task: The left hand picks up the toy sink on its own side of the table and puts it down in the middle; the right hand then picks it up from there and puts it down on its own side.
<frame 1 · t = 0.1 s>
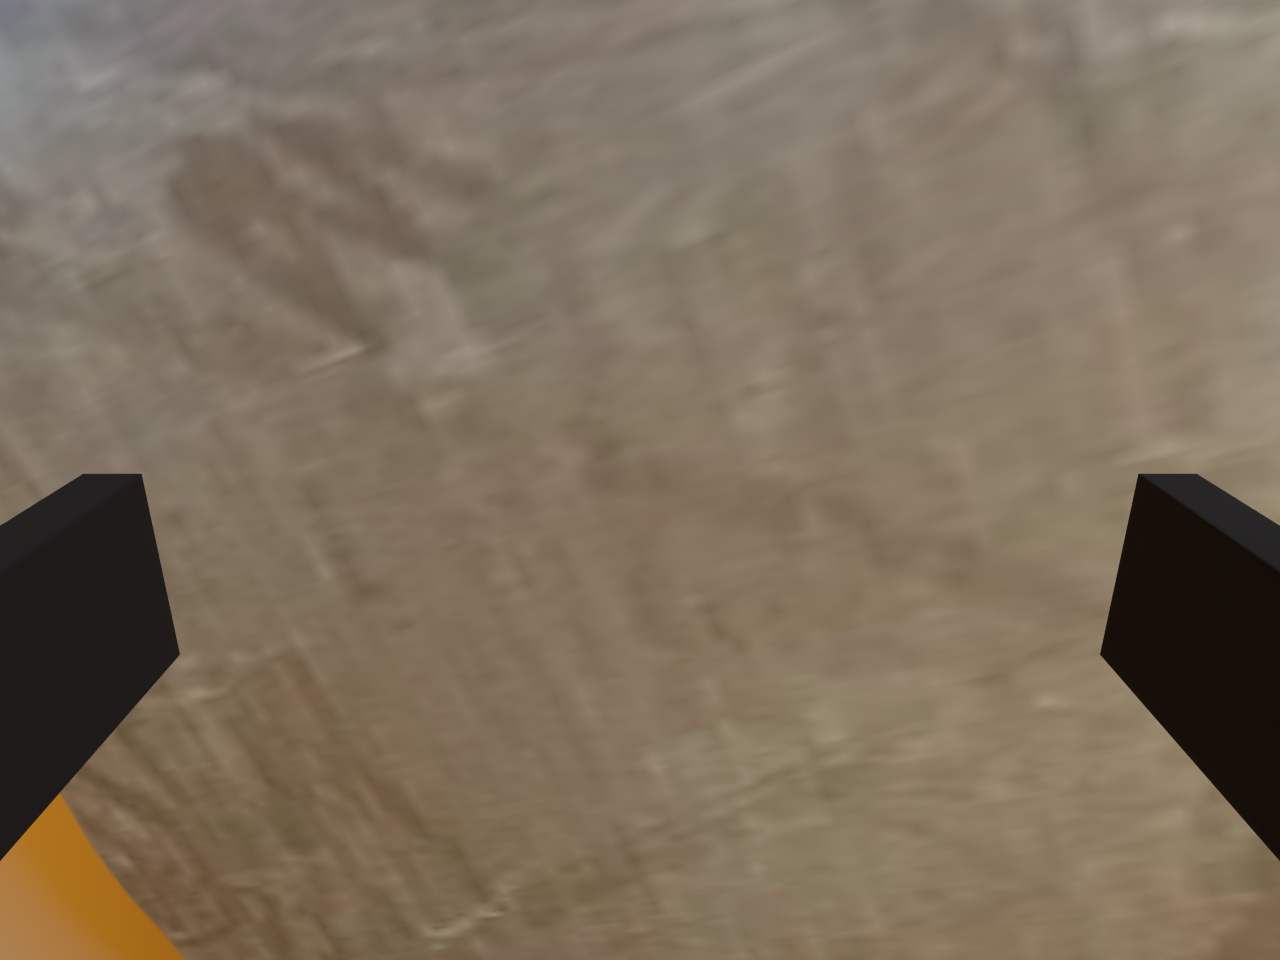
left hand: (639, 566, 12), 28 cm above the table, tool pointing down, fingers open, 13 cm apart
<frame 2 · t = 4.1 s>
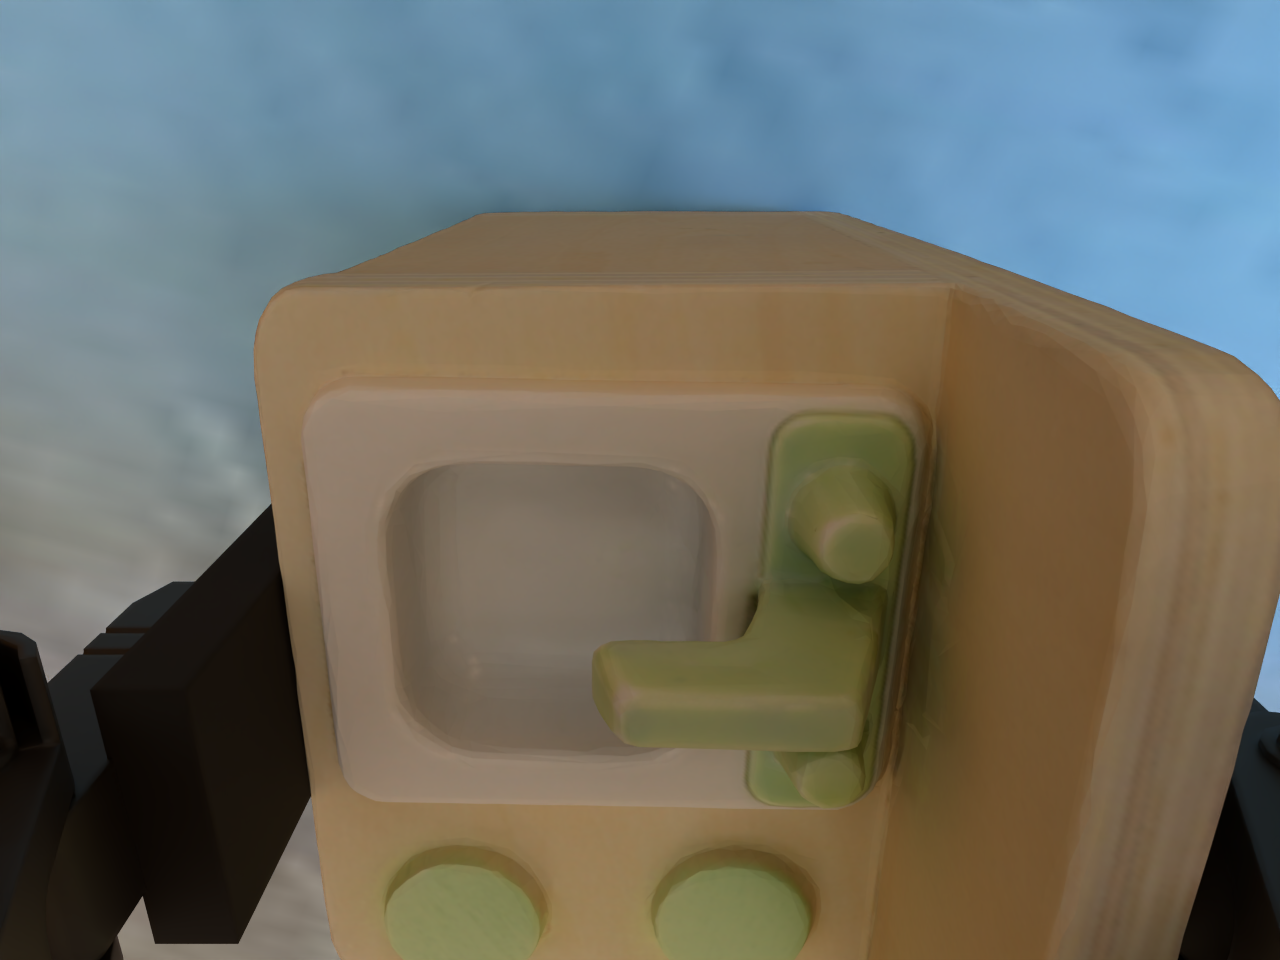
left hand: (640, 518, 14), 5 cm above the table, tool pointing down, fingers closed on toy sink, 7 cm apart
toy sink: (640, 420, 18), on the table, touching left hand
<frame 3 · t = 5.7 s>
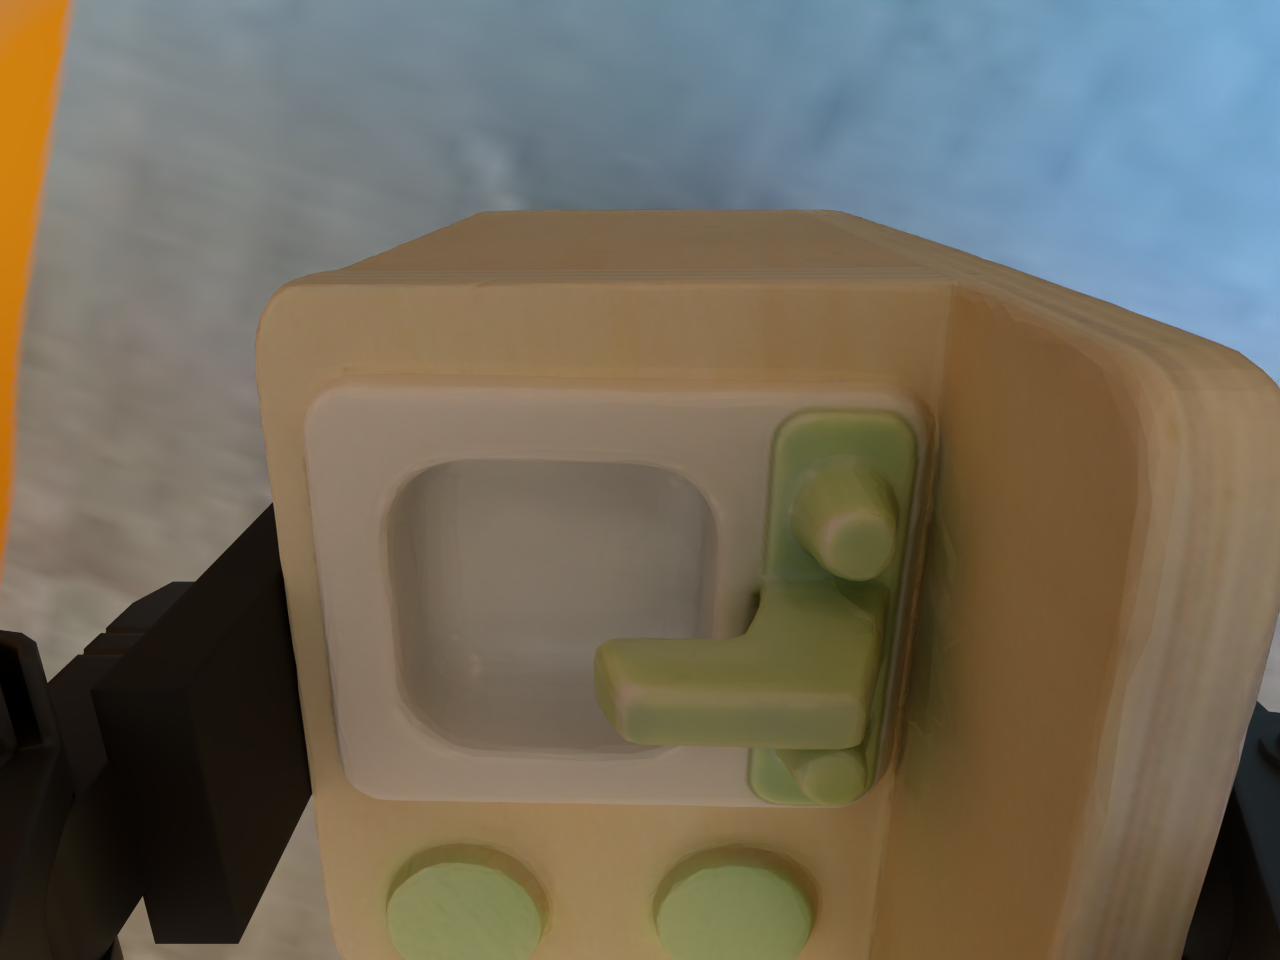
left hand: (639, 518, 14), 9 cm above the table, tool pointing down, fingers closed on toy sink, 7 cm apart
toy sink: (641, 419, 18), point 5 cm above the table, touching left hand
when the left hand's fingers open (7 cm above the table, at t = 7.2 s): toy sink drops 2 cm, on the table.
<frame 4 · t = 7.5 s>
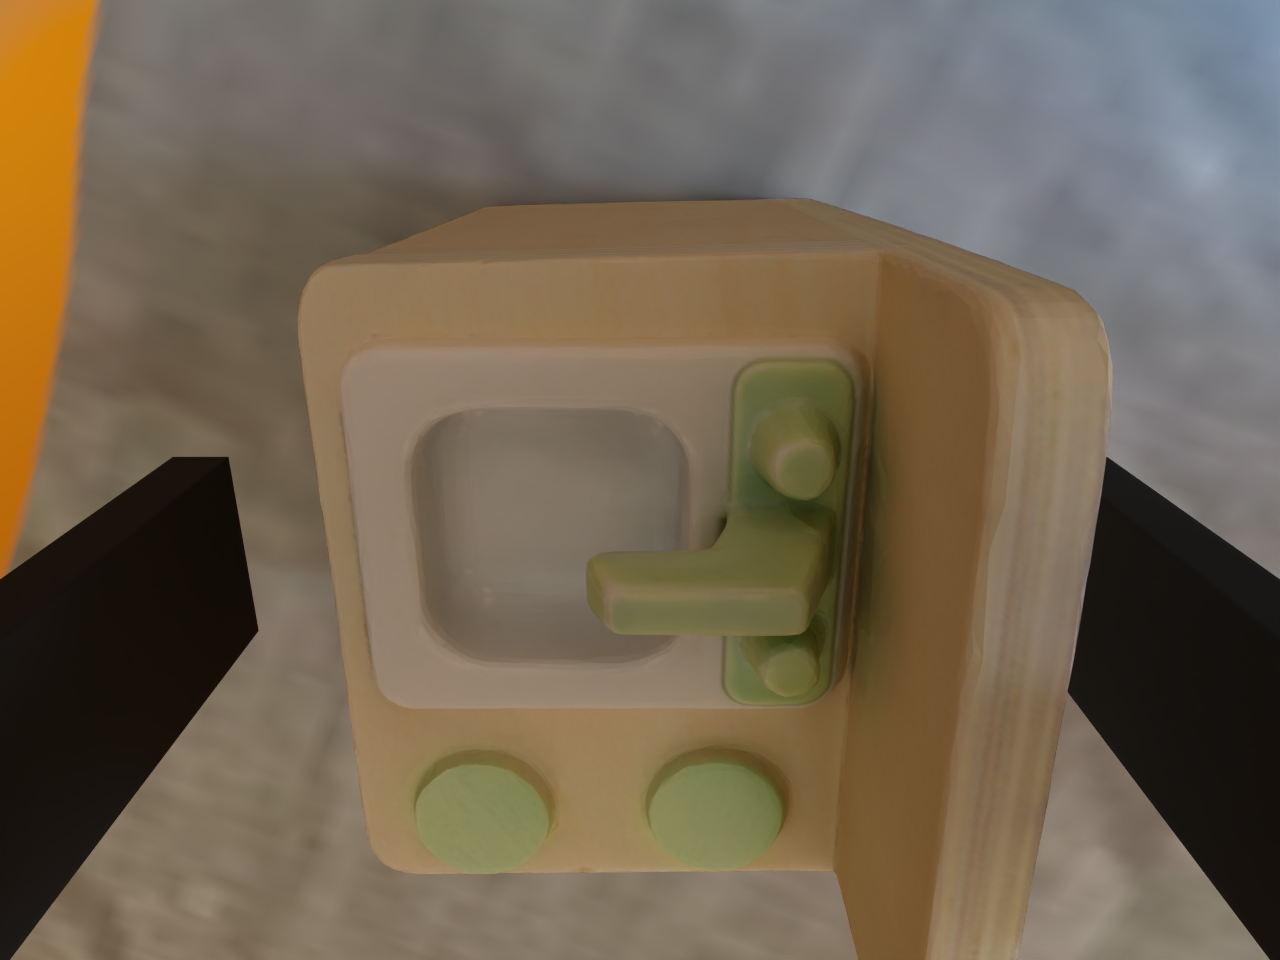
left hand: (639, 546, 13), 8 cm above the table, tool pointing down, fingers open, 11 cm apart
toy sink: (634, 395, 20), on the table
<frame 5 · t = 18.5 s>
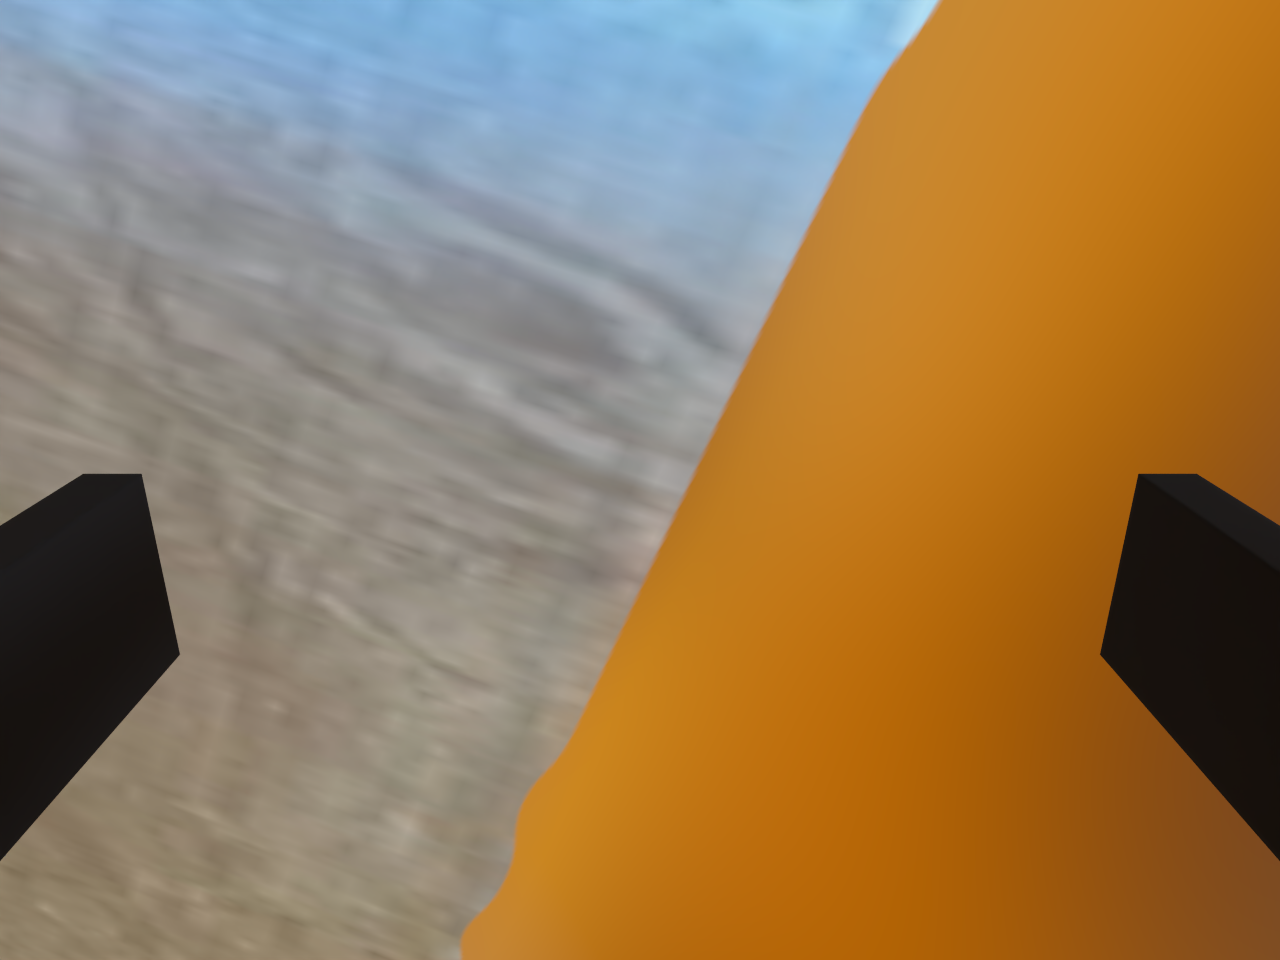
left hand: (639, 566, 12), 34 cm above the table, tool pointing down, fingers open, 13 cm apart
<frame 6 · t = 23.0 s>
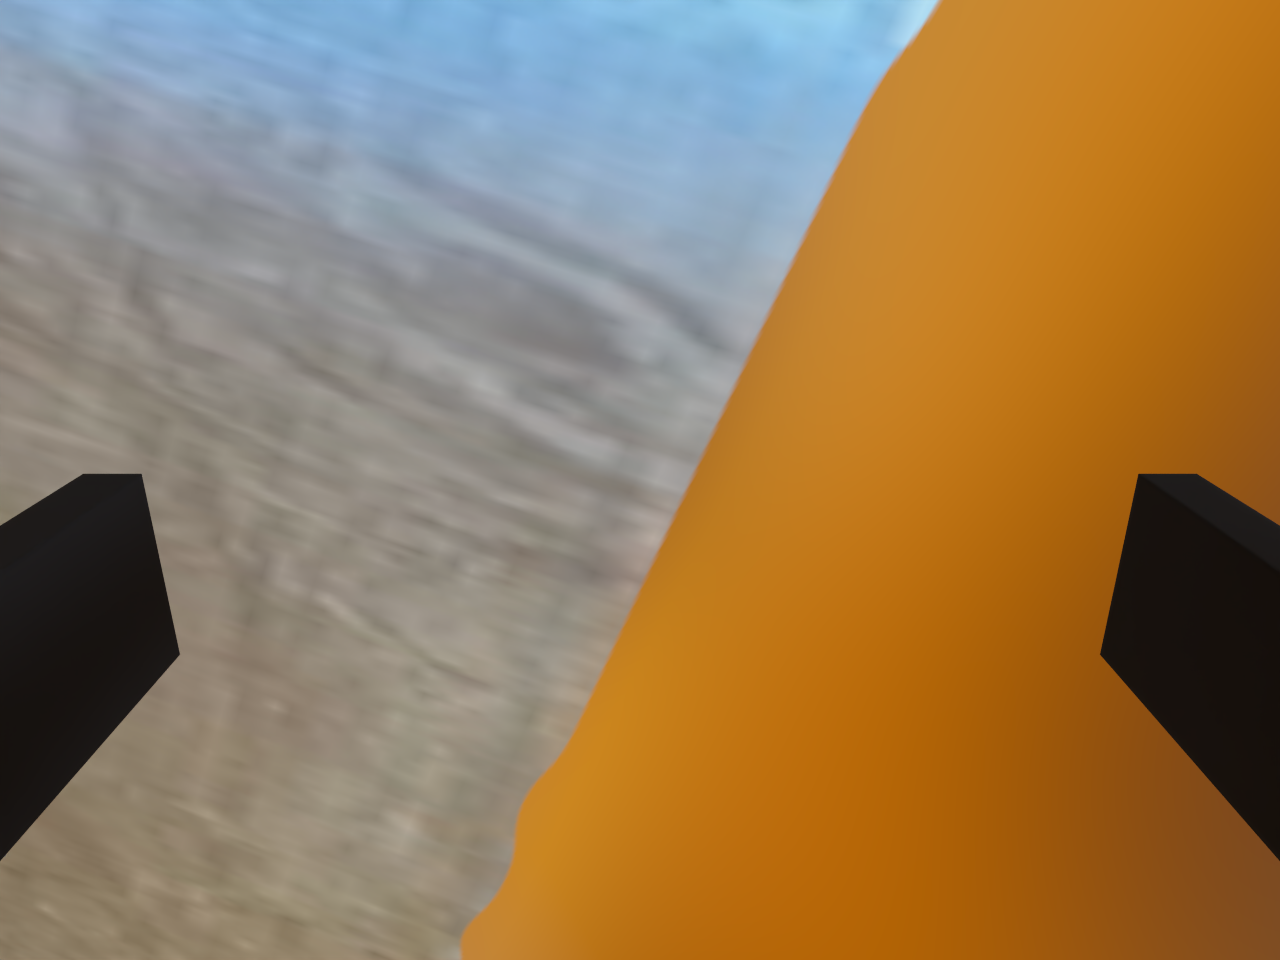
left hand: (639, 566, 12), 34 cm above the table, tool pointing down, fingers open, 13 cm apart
when the right hand's fingers open (7 cm above the table, at t = 27.7 s): toy sink drops 2 cm, on the table.
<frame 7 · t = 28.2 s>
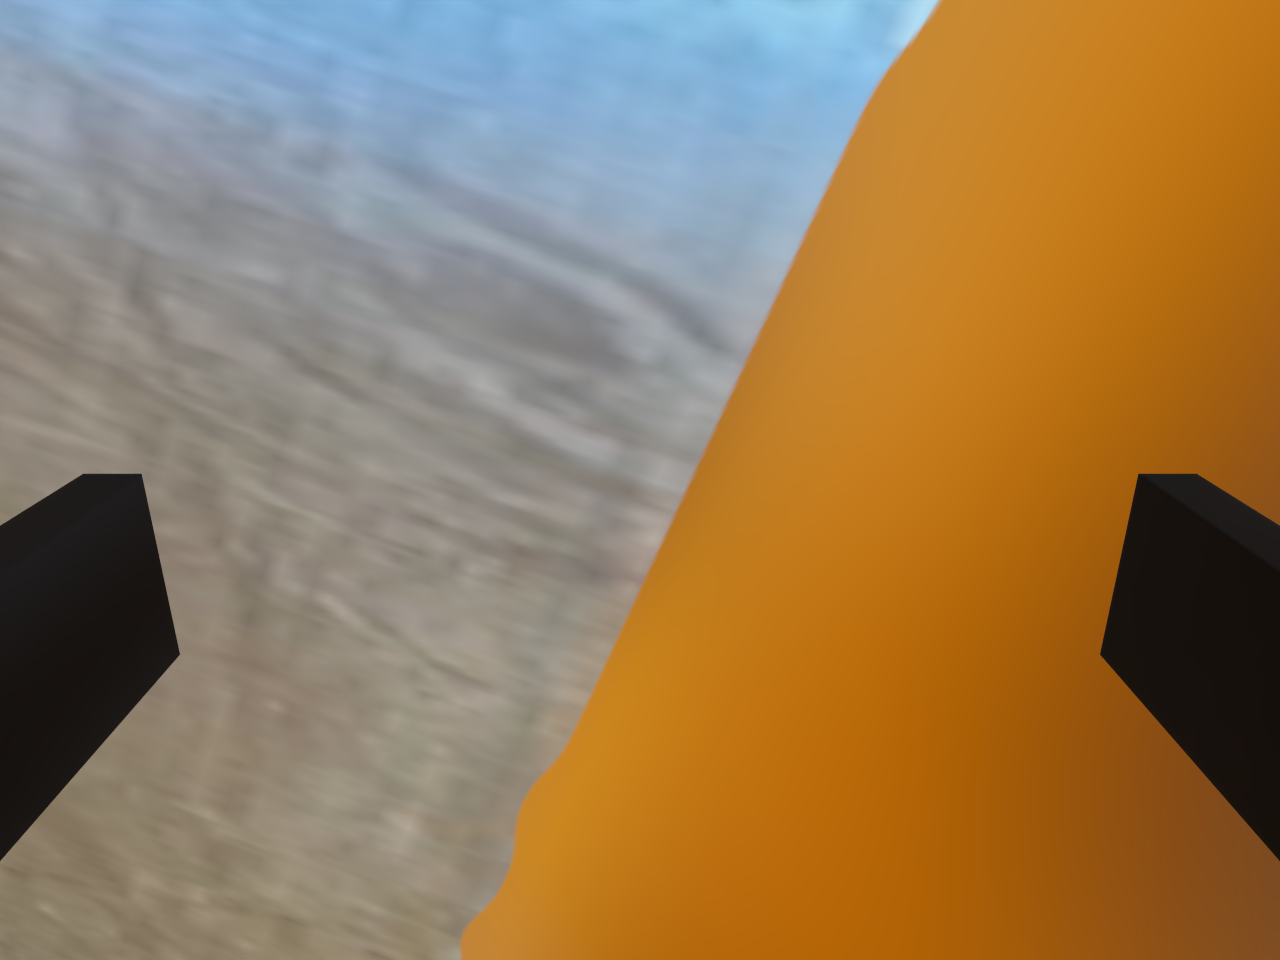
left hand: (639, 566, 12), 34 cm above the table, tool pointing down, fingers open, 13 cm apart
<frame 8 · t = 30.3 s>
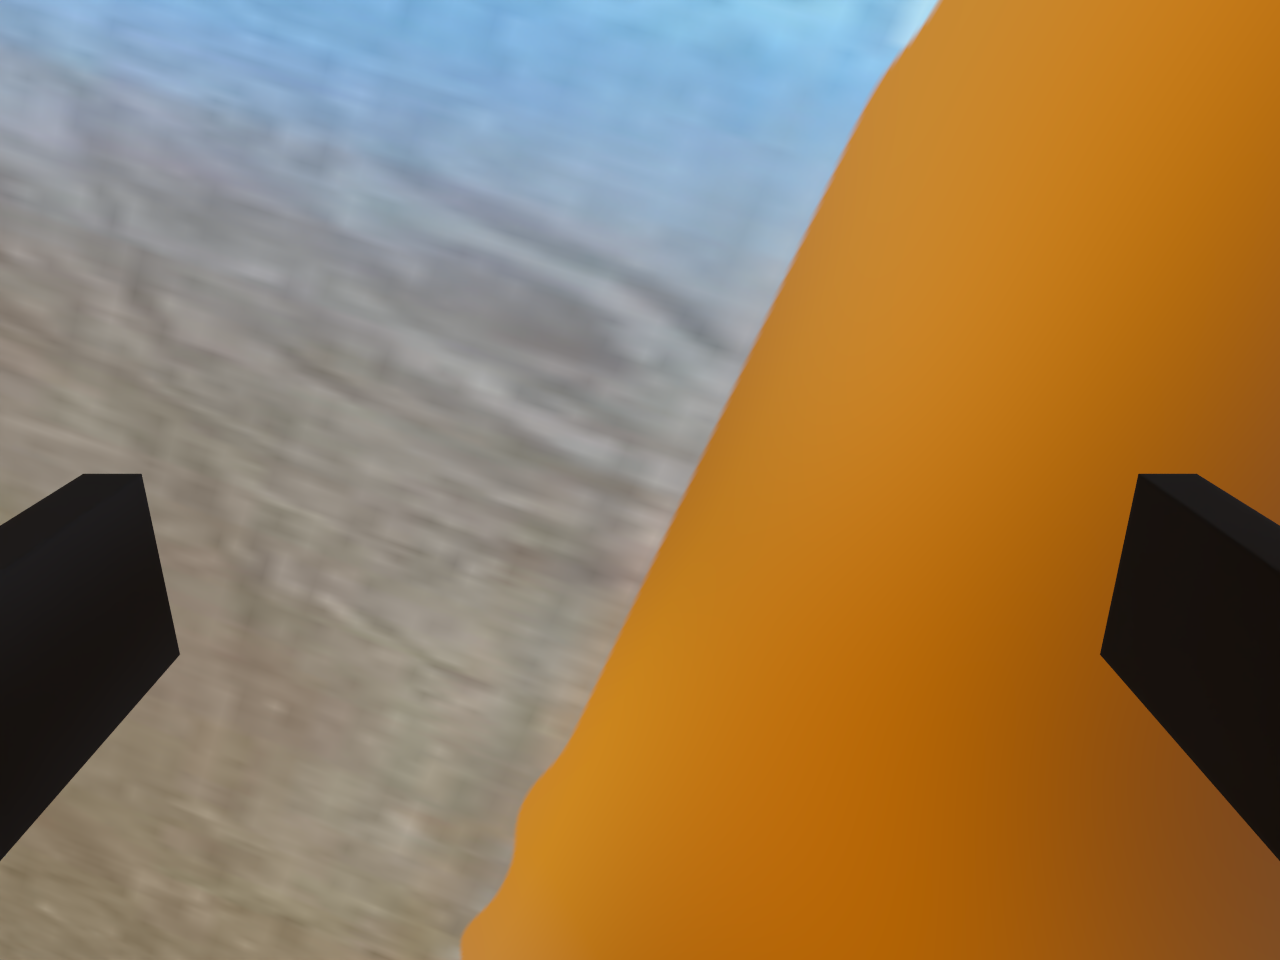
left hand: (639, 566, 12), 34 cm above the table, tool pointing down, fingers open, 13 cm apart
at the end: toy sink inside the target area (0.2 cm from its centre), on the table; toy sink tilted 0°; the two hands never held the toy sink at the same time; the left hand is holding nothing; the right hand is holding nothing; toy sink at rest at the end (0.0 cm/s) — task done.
